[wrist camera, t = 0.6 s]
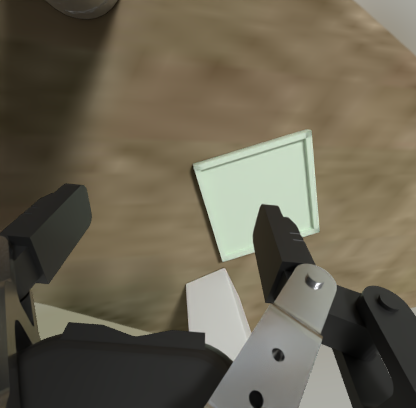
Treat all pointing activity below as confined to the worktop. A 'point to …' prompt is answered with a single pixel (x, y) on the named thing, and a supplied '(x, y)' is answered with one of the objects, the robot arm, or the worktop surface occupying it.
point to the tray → (259, 189)
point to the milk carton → (217, 312)
